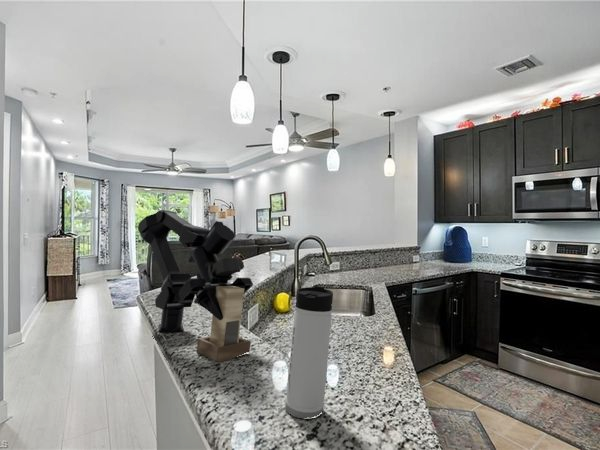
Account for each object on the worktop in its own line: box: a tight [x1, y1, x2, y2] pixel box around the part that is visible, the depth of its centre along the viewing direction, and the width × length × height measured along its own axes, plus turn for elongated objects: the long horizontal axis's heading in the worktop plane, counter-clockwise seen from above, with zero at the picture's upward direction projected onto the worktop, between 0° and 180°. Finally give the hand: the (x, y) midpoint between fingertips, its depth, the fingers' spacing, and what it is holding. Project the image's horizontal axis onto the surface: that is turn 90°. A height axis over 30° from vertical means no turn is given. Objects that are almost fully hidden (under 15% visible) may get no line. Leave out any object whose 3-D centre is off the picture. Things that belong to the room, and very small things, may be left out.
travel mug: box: [284, 285, 334, 419], centre depth 54 cm, size 6×7×20 cm
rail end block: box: [209, 286, 245, 347], centre depth 76 cm, size 5×5×14 cm
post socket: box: [196, 336, 251, 363], centre depth 76 cm, size 8×9×3 cm
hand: (230, 318), depth 76 cm, fingers closed on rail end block, 5 cm apart
